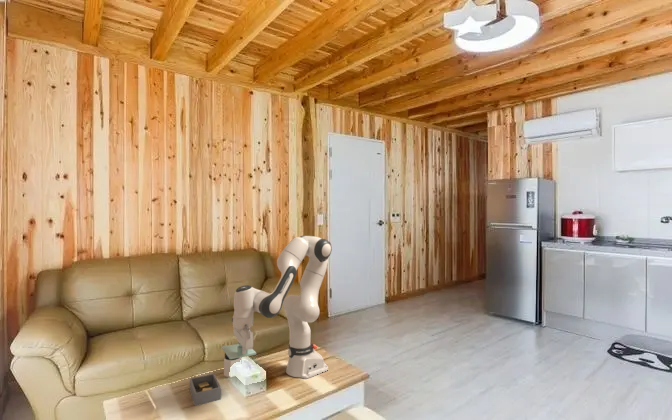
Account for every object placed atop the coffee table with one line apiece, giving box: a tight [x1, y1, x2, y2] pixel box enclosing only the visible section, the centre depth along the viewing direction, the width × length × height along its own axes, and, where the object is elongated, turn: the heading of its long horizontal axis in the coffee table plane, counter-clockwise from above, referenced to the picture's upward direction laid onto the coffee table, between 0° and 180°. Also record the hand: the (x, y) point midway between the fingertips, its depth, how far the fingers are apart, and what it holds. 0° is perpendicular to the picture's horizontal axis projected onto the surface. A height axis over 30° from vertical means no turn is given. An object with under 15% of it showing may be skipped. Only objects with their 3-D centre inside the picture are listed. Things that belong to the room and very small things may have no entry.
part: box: [198, 382, 209, 392], centre depth 164 cm, size 4×4×3 cm
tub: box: [188, 373, 222, 407], centre depth 161 cm, size 11×15×6 cm
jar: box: [223, 352, 242, 378], centre depth 181 cm, size 9×8×12 cm
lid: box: [221, 343, 257, 359], centre depth 167 cm, size 12×16×4 cm
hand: (242, 351), depth 162 cm, fingers closed on lid, 3 cm apart
